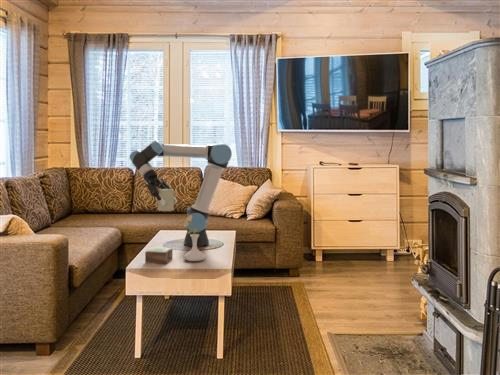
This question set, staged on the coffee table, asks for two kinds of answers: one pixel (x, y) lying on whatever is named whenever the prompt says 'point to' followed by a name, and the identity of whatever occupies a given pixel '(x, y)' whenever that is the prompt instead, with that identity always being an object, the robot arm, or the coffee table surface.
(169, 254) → the brown square box
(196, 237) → the flower in vase
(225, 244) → the coffee table surface
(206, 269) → the coffee table surface
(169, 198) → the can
